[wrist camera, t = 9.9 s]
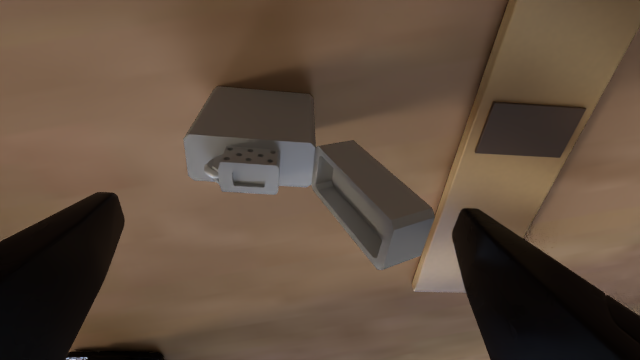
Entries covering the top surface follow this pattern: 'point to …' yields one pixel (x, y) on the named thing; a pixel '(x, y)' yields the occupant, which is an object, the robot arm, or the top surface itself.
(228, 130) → the lighter
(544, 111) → the strip
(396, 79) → the top surface
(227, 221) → the top surface
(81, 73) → the top surface
